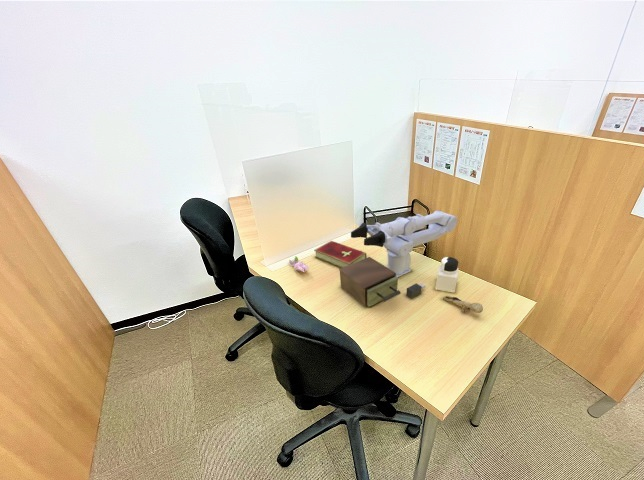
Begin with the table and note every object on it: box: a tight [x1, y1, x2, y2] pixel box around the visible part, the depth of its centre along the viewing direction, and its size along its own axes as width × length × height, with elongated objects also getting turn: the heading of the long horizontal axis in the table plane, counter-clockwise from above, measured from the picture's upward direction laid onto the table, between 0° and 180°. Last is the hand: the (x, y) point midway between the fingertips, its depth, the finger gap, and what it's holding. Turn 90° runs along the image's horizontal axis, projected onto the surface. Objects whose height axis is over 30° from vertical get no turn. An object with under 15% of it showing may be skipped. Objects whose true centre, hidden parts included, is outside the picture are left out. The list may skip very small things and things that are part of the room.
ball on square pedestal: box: [435, 256, 459, 294], centre depth 109 cm, size 7×7×12 cm
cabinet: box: [339, 256, 396, 308], centre depth 110 cm, size 16×15×9 cm
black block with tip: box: [405, 283, 427, 300], centre depth 108 cm, size 8×3×3 cm, turn 127°
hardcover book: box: [314, 240, 368, 269], centre depth 131 cm, size 12×21×4 cm, turn 52°
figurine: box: [442, 295, 484, 314], centre depth 100 cm, size 4×4×15 cm
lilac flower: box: [289, 255, 309, 273], centre depth 124 cm, size 6×6×15 cm
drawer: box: [366, 276, 401, 308], centre depth 107 cm, size 19×13×7 cm
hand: (357, 238), depth 101 cm, fingers open, 7 cm apart
